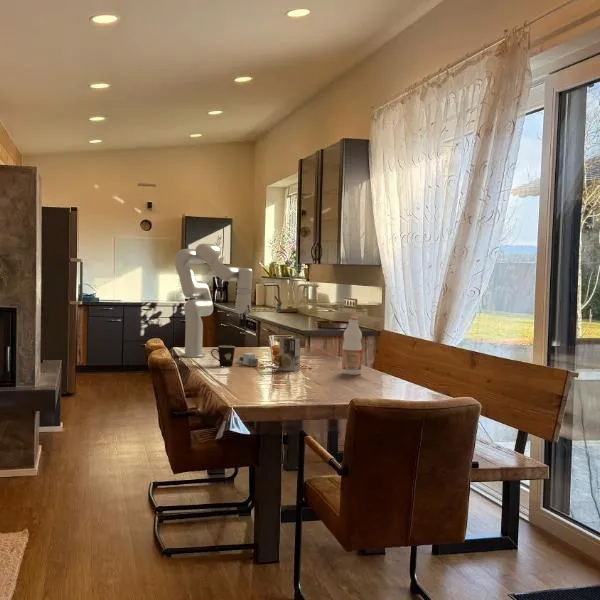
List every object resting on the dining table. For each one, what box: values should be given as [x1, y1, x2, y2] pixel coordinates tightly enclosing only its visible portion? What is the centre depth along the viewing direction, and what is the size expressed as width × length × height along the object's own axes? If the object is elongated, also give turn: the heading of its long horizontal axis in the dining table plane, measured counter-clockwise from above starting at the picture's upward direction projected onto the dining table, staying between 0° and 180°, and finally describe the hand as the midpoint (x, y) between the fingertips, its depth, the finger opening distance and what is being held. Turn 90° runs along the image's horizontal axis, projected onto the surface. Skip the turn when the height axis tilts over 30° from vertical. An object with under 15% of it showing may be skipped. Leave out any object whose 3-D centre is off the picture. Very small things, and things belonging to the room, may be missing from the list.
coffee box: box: [278, 336, 301, 372], centre depth 362 cm, size 9×6×16 cm
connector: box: [248, 357, 259, 367], centre depth 370 cm, size 2×4×4 cm, turn 121°
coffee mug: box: [210, 345, 236, 368], centre depth 368 cm, size 12×9×10 cm
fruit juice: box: [341, 316, 363, 376], centre depth 357 cm, size 9×9×28 cm
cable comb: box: [235, 355, 243, 364], centre depth 382 cm, size 1×6×4 cm, turn 121°
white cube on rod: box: [242, 352, 256, 366], centre depth 374 cm, size 4×4×6 cm
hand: (242, 326), depth 381 cm, fingers closed
